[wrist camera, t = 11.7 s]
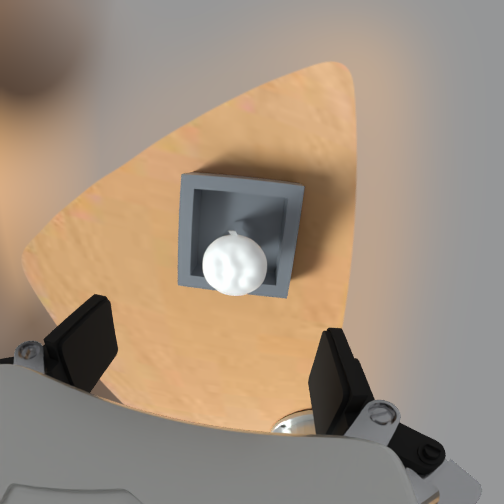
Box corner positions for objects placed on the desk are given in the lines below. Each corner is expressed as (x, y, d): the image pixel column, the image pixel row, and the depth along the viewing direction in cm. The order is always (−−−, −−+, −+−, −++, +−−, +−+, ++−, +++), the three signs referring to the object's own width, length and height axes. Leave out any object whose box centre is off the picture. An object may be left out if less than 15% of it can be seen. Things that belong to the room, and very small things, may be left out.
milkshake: (267, 205, 26) (270, 232, 16) (264, 259, 28) (265, 310, 18) (220, 203, 26) (195, 229, 16) (219, 256, 28) (197, 306, 18)
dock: (284, 282, 29) (286, 298, 26) (187, 270, 29) (177, 285, 26) (299, 183, 26) (304, 186, 22) (192, 172, 26) (181, 173, 22)
